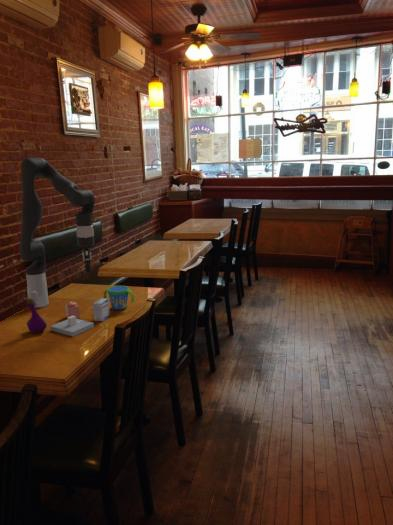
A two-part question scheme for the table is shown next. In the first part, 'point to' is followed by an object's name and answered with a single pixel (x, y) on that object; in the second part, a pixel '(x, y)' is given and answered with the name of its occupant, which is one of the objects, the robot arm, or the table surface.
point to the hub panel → (72, 326)
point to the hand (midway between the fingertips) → (88, 270)
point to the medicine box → (101, 309)
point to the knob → (72, 310)
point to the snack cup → (119, 296)
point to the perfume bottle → (35, 318)
